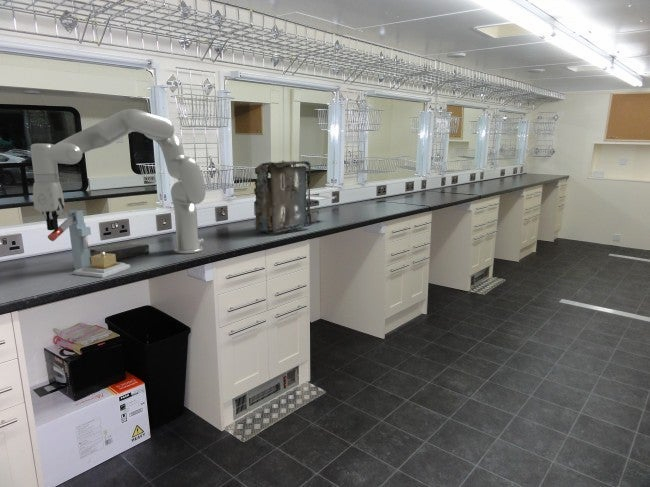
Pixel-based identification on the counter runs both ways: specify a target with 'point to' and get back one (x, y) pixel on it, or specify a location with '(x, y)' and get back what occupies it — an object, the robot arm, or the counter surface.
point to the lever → (62, 227)
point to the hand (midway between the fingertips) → (53, 229)
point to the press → (86, 250)
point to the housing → (103, 261)
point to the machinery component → (282, 196)
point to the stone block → (123, 250)
